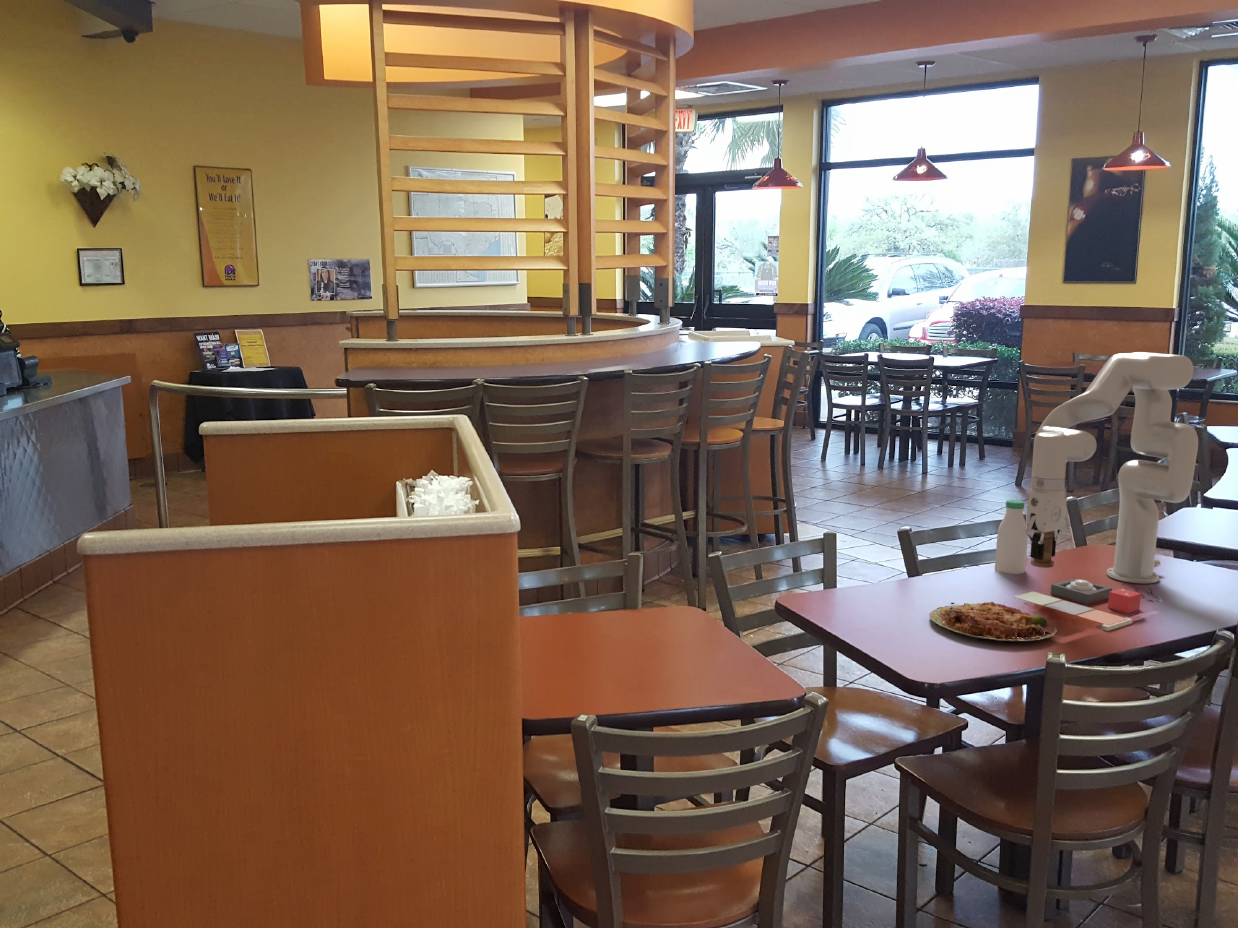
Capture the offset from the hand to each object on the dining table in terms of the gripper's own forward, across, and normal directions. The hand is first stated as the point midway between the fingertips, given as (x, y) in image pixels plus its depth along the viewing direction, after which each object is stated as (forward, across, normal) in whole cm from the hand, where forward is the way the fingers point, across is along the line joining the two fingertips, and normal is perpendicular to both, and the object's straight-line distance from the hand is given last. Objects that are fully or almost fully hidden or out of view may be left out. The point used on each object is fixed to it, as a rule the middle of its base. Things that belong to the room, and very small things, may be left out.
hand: (1042, 556), depth 259 cm
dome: (+10, +10, -5) cm, 15 cm away
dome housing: (+12, +10, -4) cm, 16 cm away
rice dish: (+12, -26, -5) cm, 29 cm away
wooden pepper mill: (+2, 0, 0) cm, 2 cm away
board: (+12, -1, -8) cm, 14 cm away
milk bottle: (+12, +15, +20) cm, 28 cm away
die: (+12, +10, -16) cm, 22 cm away
